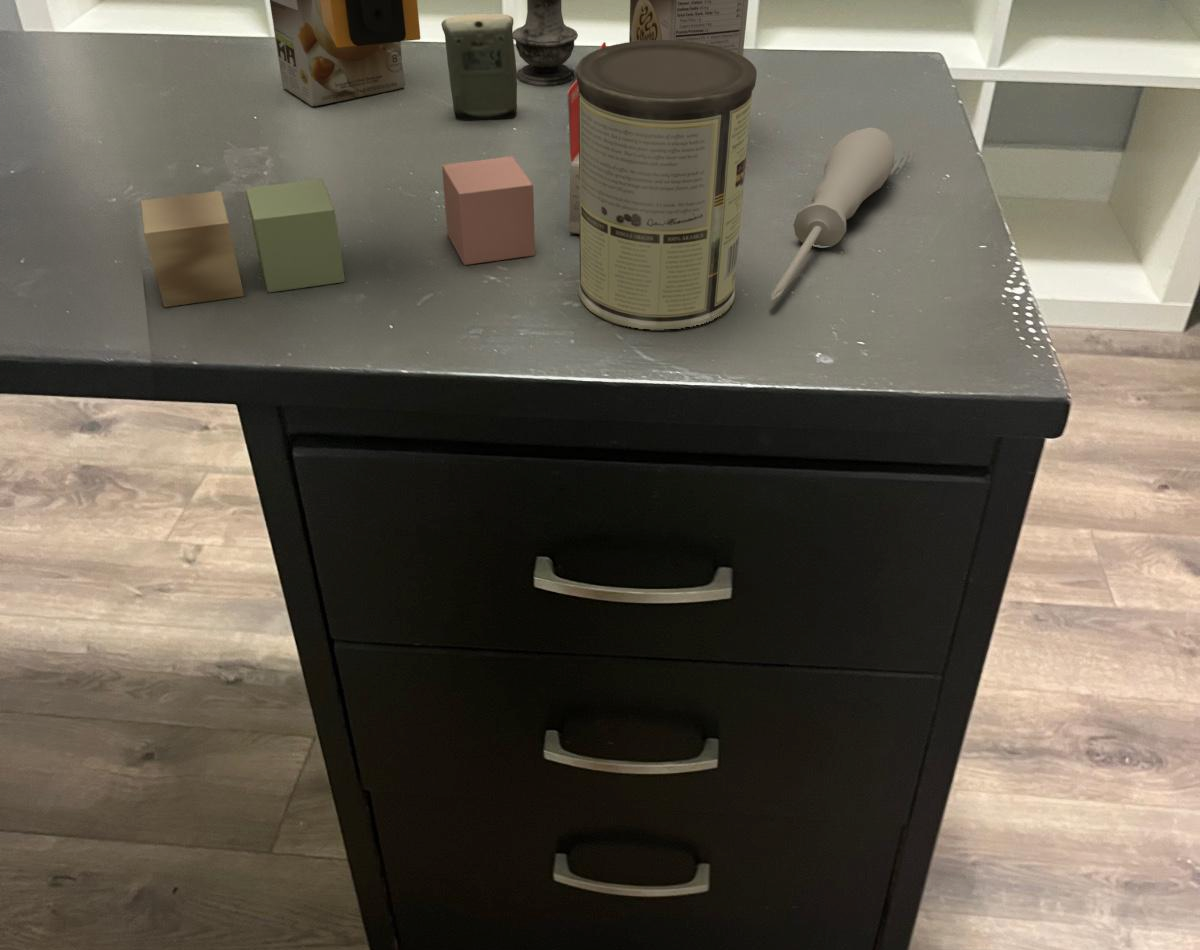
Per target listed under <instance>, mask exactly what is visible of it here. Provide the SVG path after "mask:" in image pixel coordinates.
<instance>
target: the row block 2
mask: <svg viewBox="0 0 1200 950" xmlns="http://www.w3.org/2000/svg"><path fill="white" fill-rule="evenodd" d="M245 195H246V199H247V205H248V210H249V215H250V219H251V225H252V230H253V235H254V240H255V247H256V250H257V256H258V260H259V264H260V268H261V272H262V276H263V279H264V283H265V287H266V290H267V293H276V292H282V291H284V292H285V291H291V290H297V289H305V288H312V287H319V286H325V285H333V284H341V283H345V282H346V279H345V278H346V277H345V272H344V265H343V259H342V250H341V245H340V239H339V231H338V224H337V217H336V210H335V207H334V205H333V202H332V199H331V197H330V194H329V192H328V190H327V186H326V184H325V182H324V180H323V178H317V179H311V180H301V181H293V182H285V183H284V182H283V183H276V184H267V185H260V186H251V187H246V188H245Z"/></svg>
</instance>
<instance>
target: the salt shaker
mask: <svg viewBox="0 0 1200 950" xmlns="http://www.w3.org/2000/svg"><path fill="white" fill-rule="evenodd" d="M526 7H527V12H526V17H525V22H524V23H525V24H523V26H520V27H517V28H515V29H513V30H512V31H513V41H515V48H516V50H517V52H518V55H519V57H520V58H521V59H522V60H523V61H524V63H526V65H524V66H523V67H521V68H520V69H519V70H518V71H517V80H519V81H520V82H522V83H524V84H528V85H533V86H544V87H549V86H560V85H563V84H568V83H569V82H571V81H573V80H574V79H575V76H576V74H575V71H573V69H571V68H569V67H568V66H567V65H565V63H566V62H567V61H568V60H569V59H570V57H572V53H573V51H574V48H575V41H576V40H577V39H578V37H579V34H578V31H577V30H576V29H574V28H572V27H570V26H567V25H566V24H565V22H564V17H563V13H562V12H563V11H562V0H526ZM573 78H574V79H573Z"/></svg>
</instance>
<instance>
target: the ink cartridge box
mask: <svg viewBox="0 0 1200 950" xmlns="http://www.w3.org/2000/svg"><path fill="white" fill-rule="evenodd" d="M605 47H607V43H606V42H605V41H604V42H602V44H601V45H600V47H599V48H598V50H599V49H602V48H605ZM566 96H567V118H568V141H569V159H570V162H569V163H570V167H569V207H568V208H569V209H568V214H569V215H568V232H569V233H571V234H575V235H580V186H579V86H578V83H577V79H575V81H574V82H573V84H572V85H571V86H570V88H569V89H568V90H567V92H566Z"/></svg>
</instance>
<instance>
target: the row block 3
mask: <svg viewBox="0 0 1200 950" xmlns="http://www.w3.org/2000/svg"><path fill="white" fill-rule="evenodd" d="M441 170H442V185H443V195H444V196H443V197H444V207H445V220H446V221H445V222H446V231H447V236H448V237H449V239H450V241H451V243H452V245H453V247H454V249H455V251H456V252H457V254H458V256H459V258H460V260H461V262H462V263H463V265H464V266H468V265H475V264H482V263H483V264H484V263H490V262H496V261H497V262H498V261H504V260H511V259H518V258H519V259H520V258H526V257H533V256H535V255H536V241H535V239H536V238H535V208H534V203H535V201H534V184H533V182H532V181H531V180H530V179H529V177H528V176H527V174H526V173H525V172H524V170H523V168H522V167H521V166H520V164H519V162H518V161H517V160H516V159H515V157H514V156H504V157H495V158H489V159H479V160H472V161H471V160H470V161H462V162H455V163H454V162H453V163H446V164H442V165H441Z"/></svg>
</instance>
